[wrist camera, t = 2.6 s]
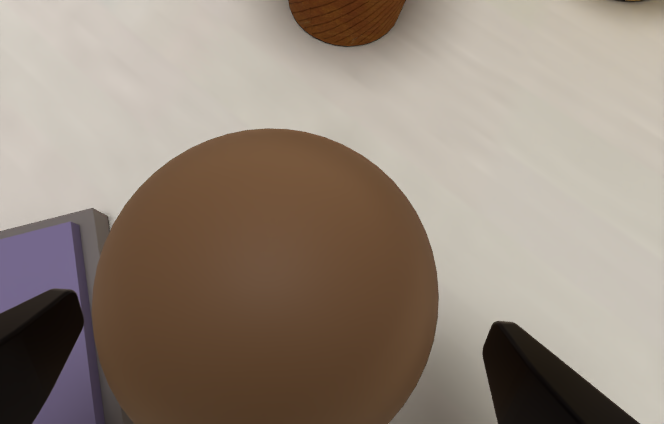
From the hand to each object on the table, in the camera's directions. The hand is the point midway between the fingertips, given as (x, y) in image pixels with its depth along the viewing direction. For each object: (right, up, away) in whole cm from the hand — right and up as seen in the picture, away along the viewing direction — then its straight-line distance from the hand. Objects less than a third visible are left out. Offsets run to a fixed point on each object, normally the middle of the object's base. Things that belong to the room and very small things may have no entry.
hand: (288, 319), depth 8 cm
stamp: (-1, -2, +8) cm, 8 cm away
